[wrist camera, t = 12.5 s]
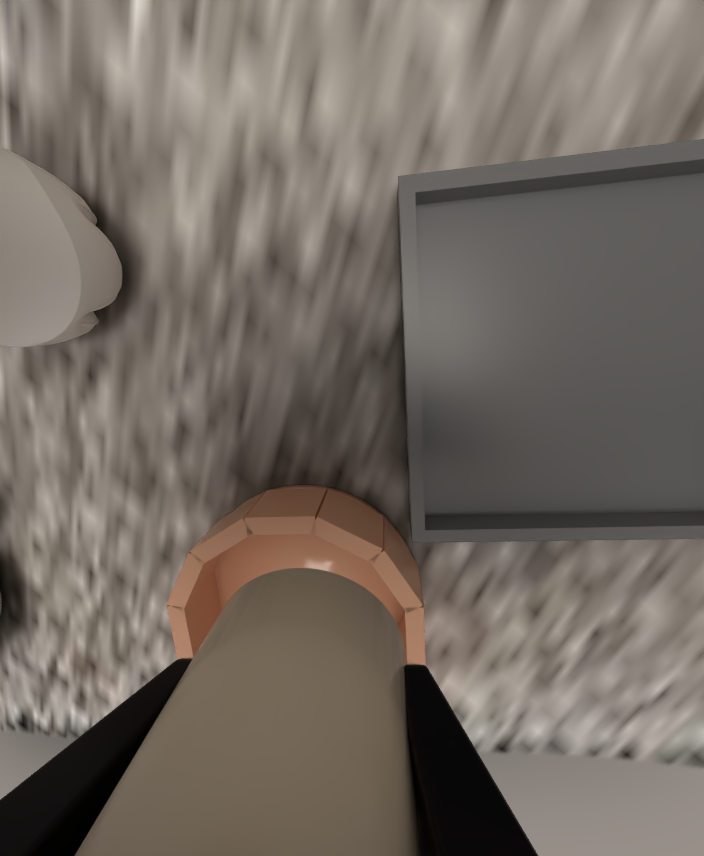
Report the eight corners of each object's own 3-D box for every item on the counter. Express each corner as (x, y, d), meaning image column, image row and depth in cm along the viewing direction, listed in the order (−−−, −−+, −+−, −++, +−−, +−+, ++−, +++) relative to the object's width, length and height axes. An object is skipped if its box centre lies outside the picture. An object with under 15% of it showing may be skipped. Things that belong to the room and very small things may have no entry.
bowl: (414, 481, 18) (420, 513, 14) (421, 675, 20) (428, 743, 17) (192, 488, 19) (148, 519, 16) (224, 670, 22) (192, 732, 18)
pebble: (403, 568, 7) (440, 947, 3) (406, 733, 8) (438, 1222, 3) (202, 567, 7) (-65, 901, 3) (227, 725, 8) (50, 1164, 4)
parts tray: (800, 148, 14) (861, 119, 12) (736, 517, 17) (777, 537, 15) (397, 195, 15) (398, 176, 14) (409, 523, 18) (412, 542, 17)
